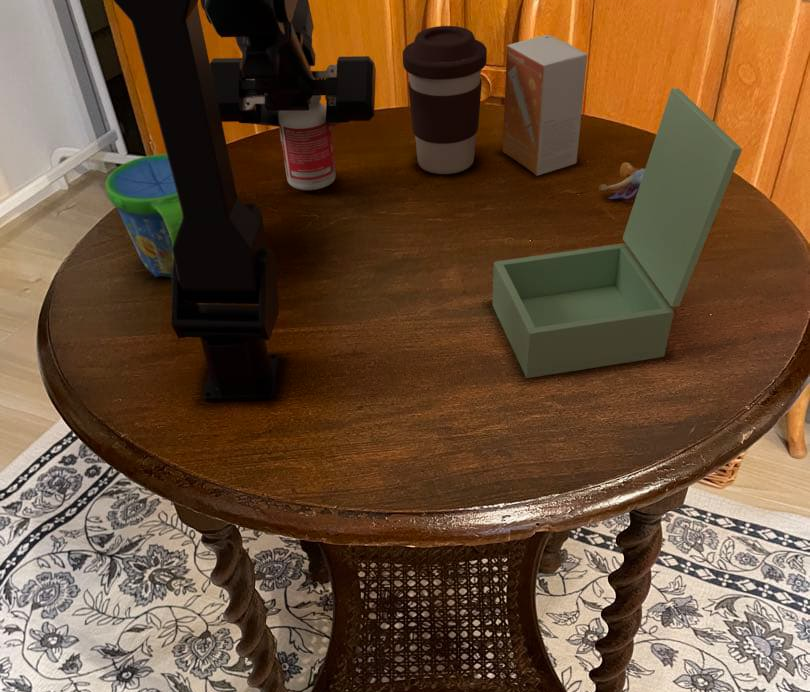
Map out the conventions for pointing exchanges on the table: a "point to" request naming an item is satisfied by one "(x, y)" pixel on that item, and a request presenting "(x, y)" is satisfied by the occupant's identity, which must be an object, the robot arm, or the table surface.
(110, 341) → the table surface
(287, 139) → the pill bottle
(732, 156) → the chest lid
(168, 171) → the snack cup
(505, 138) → the small box
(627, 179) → the fairy figurine
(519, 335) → the chest
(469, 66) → the coffee cup
